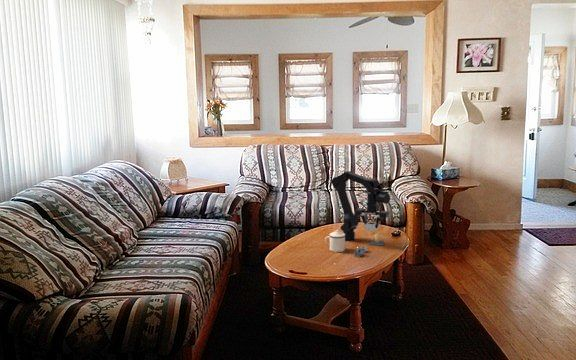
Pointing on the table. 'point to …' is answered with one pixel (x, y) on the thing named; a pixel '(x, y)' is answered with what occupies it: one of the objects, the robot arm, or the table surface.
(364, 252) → the link
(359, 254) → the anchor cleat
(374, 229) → the end link
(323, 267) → the table surface
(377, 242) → the grey peg holder
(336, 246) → the teacup with lid
